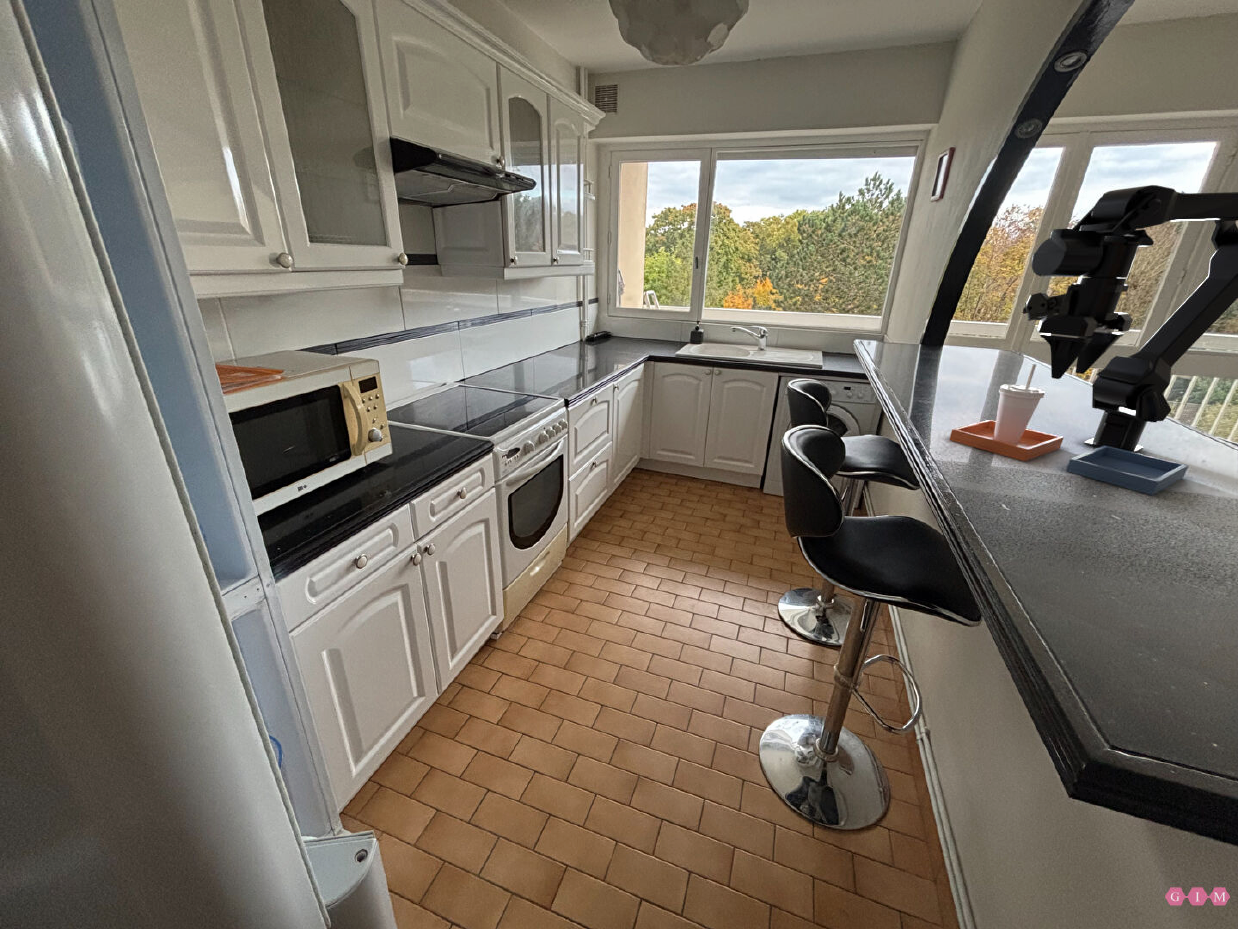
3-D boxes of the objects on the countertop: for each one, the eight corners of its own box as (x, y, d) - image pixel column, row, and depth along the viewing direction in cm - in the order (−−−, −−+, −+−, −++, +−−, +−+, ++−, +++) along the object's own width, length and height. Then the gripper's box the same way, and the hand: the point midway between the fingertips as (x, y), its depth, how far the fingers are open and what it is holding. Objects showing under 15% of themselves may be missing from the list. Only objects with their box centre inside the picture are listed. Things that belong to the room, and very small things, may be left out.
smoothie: (1023, 449, 87) (1051, 369, 82) (980, 440, 92) (1003, 363, 86) (1030, 441, 92) (1056, 364, 86) (988, 433, 96) (1011, 359, 91)
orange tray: (985, 429, 100) (988, 419, 99) (1059, 448, 90) (1064, 437, 89) (948, 440, 94) (951, 429, 93) (1024, 461, 84) (1028, 449, 83)
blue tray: (1099, 457, 86) (1104, 445, 86) (1183, 477, 78) (1188, 465, 77) (1065, 471, 80) (1070, 458, 79) (1152, 495, 72) (1158, 482, 71)
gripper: (1066, 276, 90) (1037, 363, 96) (1015, 275, 81) (987, 372, 87) (1150, 278, 81) (1113, 374, 87) (1103, 278, 73) (1065, 385, 78)
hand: (1067, 375), depth 85 cm, fingers open, 9 cm apart
